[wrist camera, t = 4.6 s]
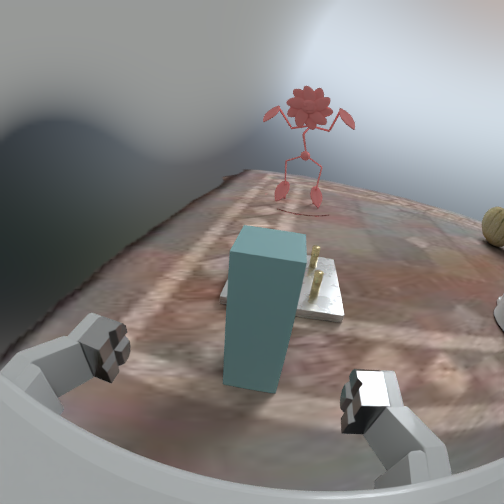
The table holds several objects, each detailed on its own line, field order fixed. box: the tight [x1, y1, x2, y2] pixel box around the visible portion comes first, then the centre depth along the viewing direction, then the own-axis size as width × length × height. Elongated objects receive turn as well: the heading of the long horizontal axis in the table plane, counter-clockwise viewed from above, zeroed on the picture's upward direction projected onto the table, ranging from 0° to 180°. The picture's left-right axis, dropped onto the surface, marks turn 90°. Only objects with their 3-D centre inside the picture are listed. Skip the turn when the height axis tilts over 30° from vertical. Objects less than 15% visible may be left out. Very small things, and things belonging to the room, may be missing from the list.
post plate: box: [220, 245, 344, 323], centre depth 41 cm, size 16×16×5 cm
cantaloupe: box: [482, 207, 504, 247], centre depth 72 cm, size 15×15×15 cm
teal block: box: [223, 225, 307, 393], centre depth 23 cm, size 5×5×14 cm
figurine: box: [263, 86, 355, 217], centre depth 72 cm, size 15×26×35 cm, turn 75°
